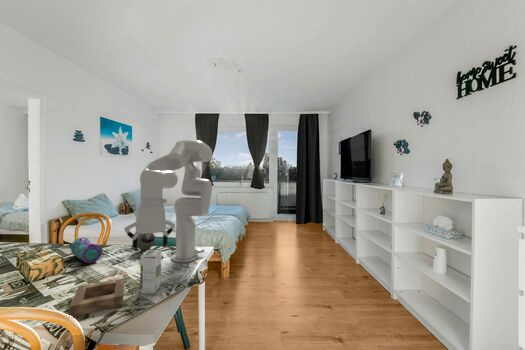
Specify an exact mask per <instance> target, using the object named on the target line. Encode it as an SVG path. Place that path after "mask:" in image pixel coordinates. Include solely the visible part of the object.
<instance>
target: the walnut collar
mask: <svg viewBox="0 0 525 350" xmlns="http://www.w3.org/2000/svg"><path fill="white" fill-rule="evenodd" d="M124 292H125V278H123V277H122V278H117V279H113V280H112V279H111V280H107V281H102V282H97V283H90V284H89V283H88V284H85V285H79V286H78V287H77V290H76V291H75V293H74V296H73V298H72V301H71V303H70V305H69V316H70V315H71V316H73V317H72V318H75V317H80V316H85V315H88V314H89V315H90V314H94V313H98V312H102V311H106V310H110V309H114V308H119V307H122V306H124V294H125V293H124ZM106 294H108V295H106ZM92 297H93V298H92Z"/></svg>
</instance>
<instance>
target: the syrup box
mask: <svg viewBox="0 0 525 350" xmlns="http://www.w3.org/2000/svg"><path fill="white" fill-rule="evenodd" d="M139 268H140V269H139V270H140V271H139V273H140V274H139V294H142V295H144V294H146V295H147V294H156V293H157V291H158V290H159V288H160V287H161V286H162V250H161V249H153V250H147V251H146V252H145V253H141V255H140V267H139Z"/></svg>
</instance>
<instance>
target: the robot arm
mask: <svg viewBox="0 0 525 350" xmlns="http://www.w3.org/2000/svg"><path fill="white" fill-rule="evenodd" d="M212 159H213V150H212V148H211V147H210V145H208V144H206V143H205V142H204V141H202V140H198V139H197V140H192V139H191V140H187V139H185V140H183V139H182V140H179V141H178V142H177V143H176V144H175V145H174V147H173V148H172V149H171V150H170V151H169V152H168V154H166V155H164V156H161V157H159V158H157V159H154V160H153V161H151V162H149V163H148V164H147V165H146V167H145V168H144V169H143V170H142V172H141V173H140V175H139V176H140V177H139V182H140V193H139V194H140V195H139V196H140V203H139V206H137V209H136V214H135V215H136V216H135V222H133V223H131V224H129V225H126V226H125V227H124V229H123V231H124V232H125V233H126V235H127V236H128V237H129V238H130V239H131V240H132V249H134V251H135V252H137V251H138V247H137V237H138V236H139V235H140V234H149V233H154V234H158V233H159V234H160V233H162V234H163V235H162V247H163V248H166V245H168V237H169V235H170V234H171V233H173V230H174V229H175V254H174V255H173V256H172V261H174V262H176V263H190V262H193V261H196V260H197V259H198V258H199V254H202V253H203V254H204V253H205V248H199V247H198V248H196V222H195V219H194V218H193V217H206V216H207V215H208V214H209V211H210V205H211V200H212V193H213V184H212V181H211V180H210V179H207V178H201V174H202V173H201V169H200V167H199V166H198V165H197V164H196V163H201V162H203V163H209V162H211V160H212ZM181 168H184V174H183V180H182V185H181V188H180V189H181V193H182V195H184V197H180V198H177V199H176V200H175V202H174V206H173V208H174V215H175V223H174V222H171V221H169V220H166V210H165V206H164V205H163V204H166V203H167V199H166V198H163V189H172V188H174V187H176V185H177V184H178V180H179V178H178V175H177V173H176V172H175V171H176V170H180V169H181ZM185 196H187V197H185ZM167 225H168V226H170V227H169V228H168V229H167V230H166V226H167ZM133 228H135V232H134V233H132V232H131V230H132V229H133Z"/></svg>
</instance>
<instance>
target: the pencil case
mask: <svg viewBox="0 0 525 350" xmlns="http://www.w3.org/2000/svg"><path fill="white" fill-rule="evenodd" d="M68 247H69V248H70V251H71V252H72V253H71V254H73V255H74V256H75V257H77V259H79V260H80V261H82V262H84V263H86V264H93V263H95V262H97V261H98V260H99V259H100V258H101V257H102V255H103V247H101V245H99V244H95V243H93V242H91V241H90V239H89V238H87V236H81V237H78V238H77V239H75V240H74V241H72V243H69V244H68Z"/></svg>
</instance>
